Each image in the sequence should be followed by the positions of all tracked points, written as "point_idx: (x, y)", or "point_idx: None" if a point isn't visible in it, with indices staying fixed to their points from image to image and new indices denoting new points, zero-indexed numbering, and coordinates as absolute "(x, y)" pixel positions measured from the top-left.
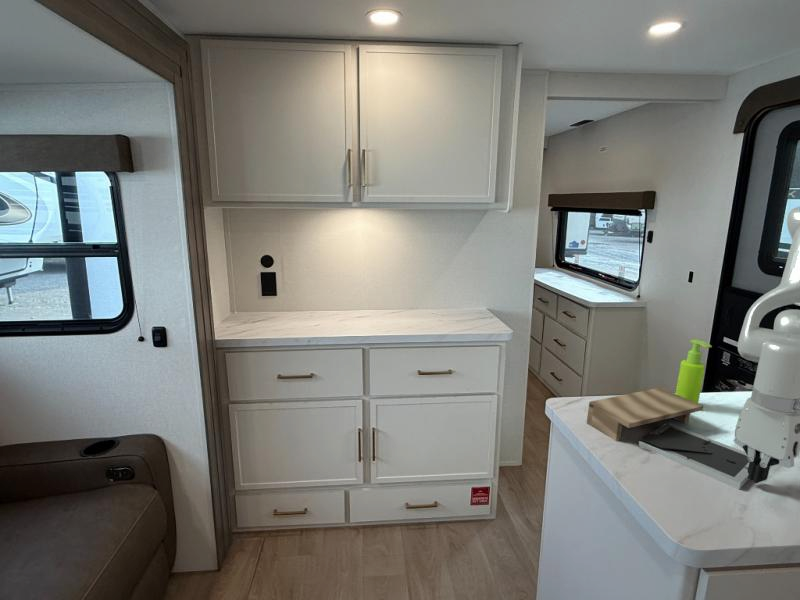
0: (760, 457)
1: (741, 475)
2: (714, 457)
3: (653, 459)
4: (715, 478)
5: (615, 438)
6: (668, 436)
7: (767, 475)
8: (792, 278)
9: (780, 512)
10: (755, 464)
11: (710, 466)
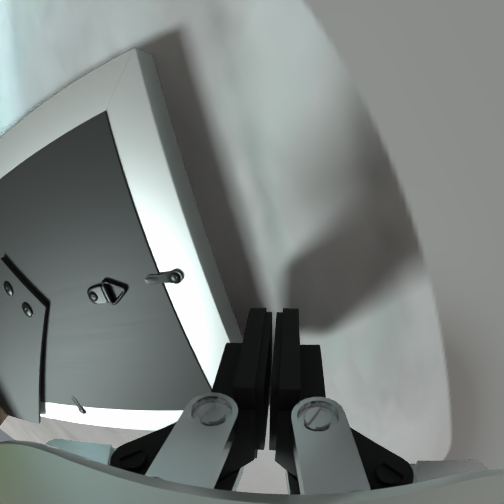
0: (237, 425)
1: None
2: (71, 326)
3: (74, 432)
4: None
5: (7, 415)
6: None
7: (321, 363)
8: None
9: (414, 398)
10: (261, 448)
11: (134, 407)
